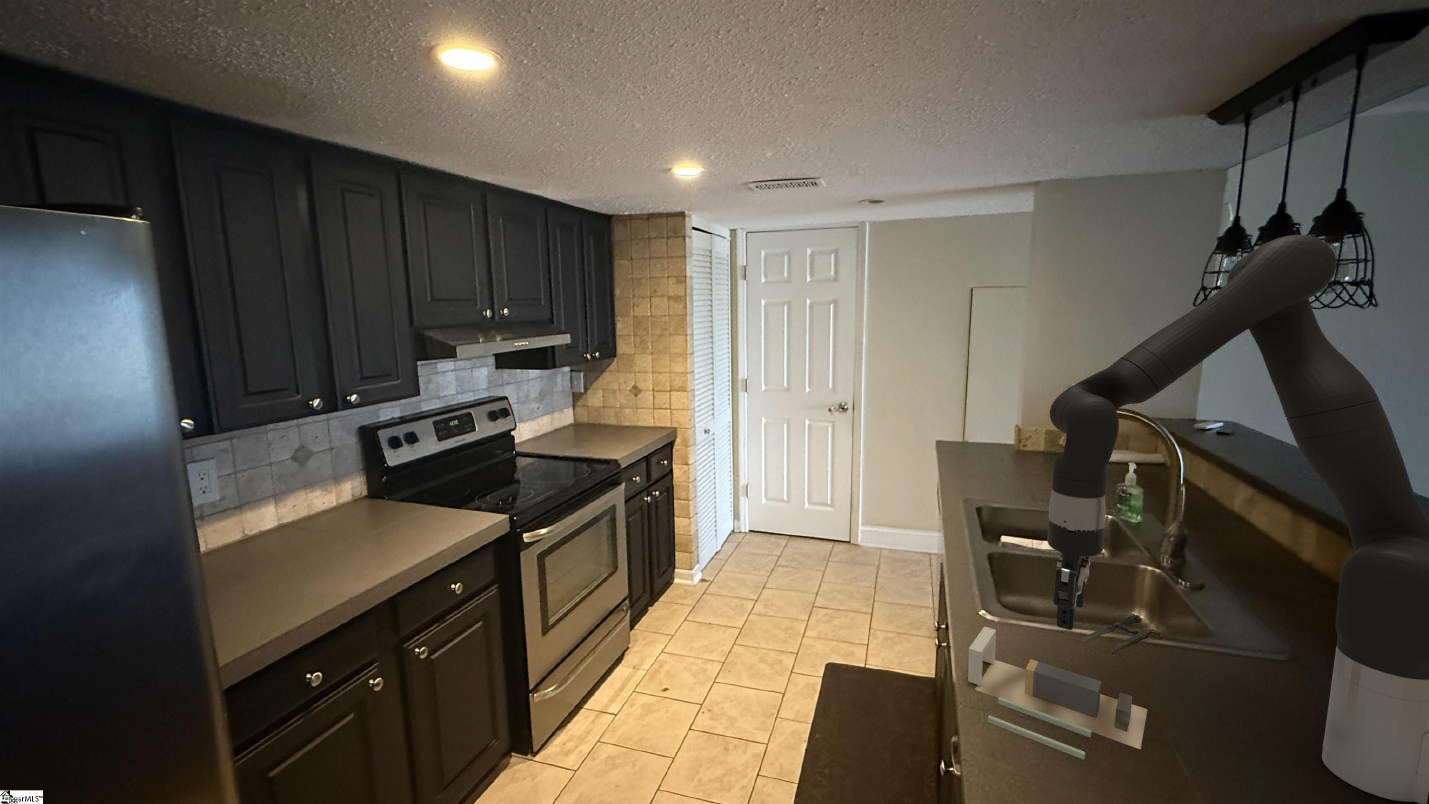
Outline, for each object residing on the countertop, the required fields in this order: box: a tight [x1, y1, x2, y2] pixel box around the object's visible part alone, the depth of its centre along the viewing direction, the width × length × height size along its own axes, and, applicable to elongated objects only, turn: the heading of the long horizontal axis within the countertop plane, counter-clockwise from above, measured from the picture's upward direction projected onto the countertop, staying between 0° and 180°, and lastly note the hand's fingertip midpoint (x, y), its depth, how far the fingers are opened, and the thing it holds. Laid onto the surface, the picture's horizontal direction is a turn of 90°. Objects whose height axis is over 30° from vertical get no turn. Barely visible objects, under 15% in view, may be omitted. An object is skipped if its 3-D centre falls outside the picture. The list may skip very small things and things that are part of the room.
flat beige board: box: [975, 659, 1148, 750], centre depth 98 cm, size 23×11×4 cm, turn 50°
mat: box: [987, 697, 1092, 760], centre depth 92 cm, size 13×6×1 cm, turn 50°
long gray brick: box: [1025, 659, 1102, 718], centre depth 98 cm, size 10×3×4 cm, turn 50°
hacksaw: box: [1075, 613, 1163, 656], centre depth 114 cm, size 24×10×2 cm, turn 115°
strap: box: [967, 626, 997, 686], centre depth 105 cm, size 2×9×6 cm, turn 140°
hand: (1070, 616), depth 95 cm, fingers open, 8 cm apart
